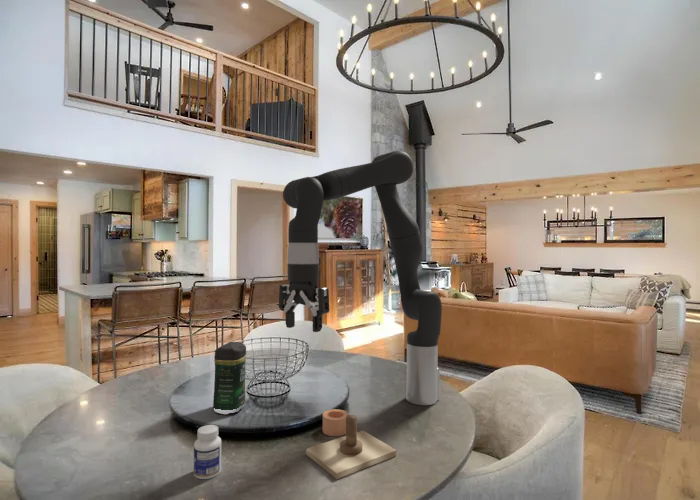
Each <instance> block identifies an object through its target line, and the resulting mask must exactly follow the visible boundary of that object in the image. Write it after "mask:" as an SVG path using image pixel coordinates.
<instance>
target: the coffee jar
mask: <svg viewBox="0 0 700 500" xmlns="http://www.w3.org/2000/svg"><path fill="white" fill-rule="evenodd" d="M213 359H214V360H213V361H214V385H213V402H212V409H213V408H215V409H221V410H233V409H237V408H239V407H240V406H242V405H243V404H244V402H245V403H246V363H247V362H246V360H247V346H246V344H245V343H243V342H242V341H229V342H227V343H225V344H222V345H221V346H219V347H217V348H216V349H215V350H214V358H213Z"/></svg>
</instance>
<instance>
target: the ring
mask: <svg viewBox="0 0 700 500" xmlns="http://www.w3.org/2000/svg"><path fill="white" fill-rule="evenodd" d="M348 415H349V412H347V411H346V410H343V409H334V408H333V409H327V410H326V411H324V412H322V433H323V434H325V435H326V436H330V437H343V436H346V416H348Z"/></svg>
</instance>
